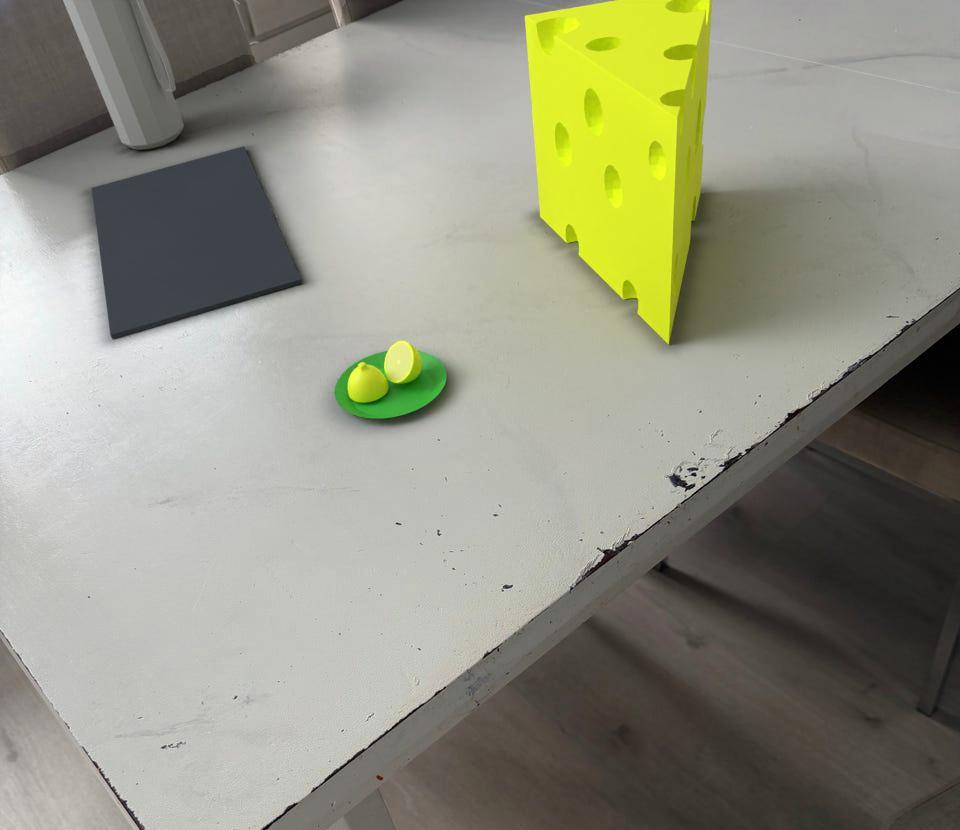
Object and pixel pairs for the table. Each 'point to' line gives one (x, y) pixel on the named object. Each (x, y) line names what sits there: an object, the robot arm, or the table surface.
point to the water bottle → (129, 69)
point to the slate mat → (187, 242)
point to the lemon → (390, 382)
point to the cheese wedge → (623, 138)
